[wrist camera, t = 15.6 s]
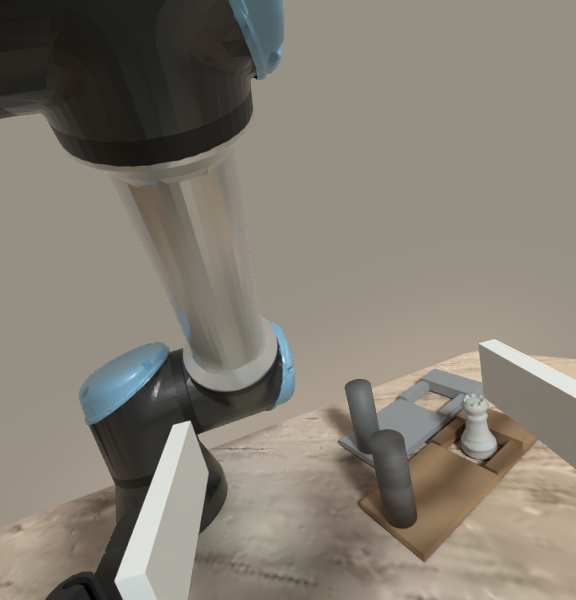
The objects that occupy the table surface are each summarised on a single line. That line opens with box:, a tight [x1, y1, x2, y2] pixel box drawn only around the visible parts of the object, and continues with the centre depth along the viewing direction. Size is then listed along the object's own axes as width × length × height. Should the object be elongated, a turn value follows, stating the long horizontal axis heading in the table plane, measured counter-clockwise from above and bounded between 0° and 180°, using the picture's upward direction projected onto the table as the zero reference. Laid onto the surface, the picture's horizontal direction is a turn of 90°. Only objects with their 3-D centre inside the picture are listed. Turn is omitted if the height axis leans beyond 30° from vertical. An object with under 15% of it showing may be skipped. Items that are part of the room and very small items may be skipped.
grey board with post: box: [340, 369, 484, 468], centre depth 55 cm, size 9×24×11 cm, turn 123°
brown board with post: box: [360, 409, 538, 562], centre depth 43 cm, size 9×24×11 cm, turn 123°
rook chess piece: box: [461, 393, 498, 460], centre depth 46 cm, size 4×4×8 cm
